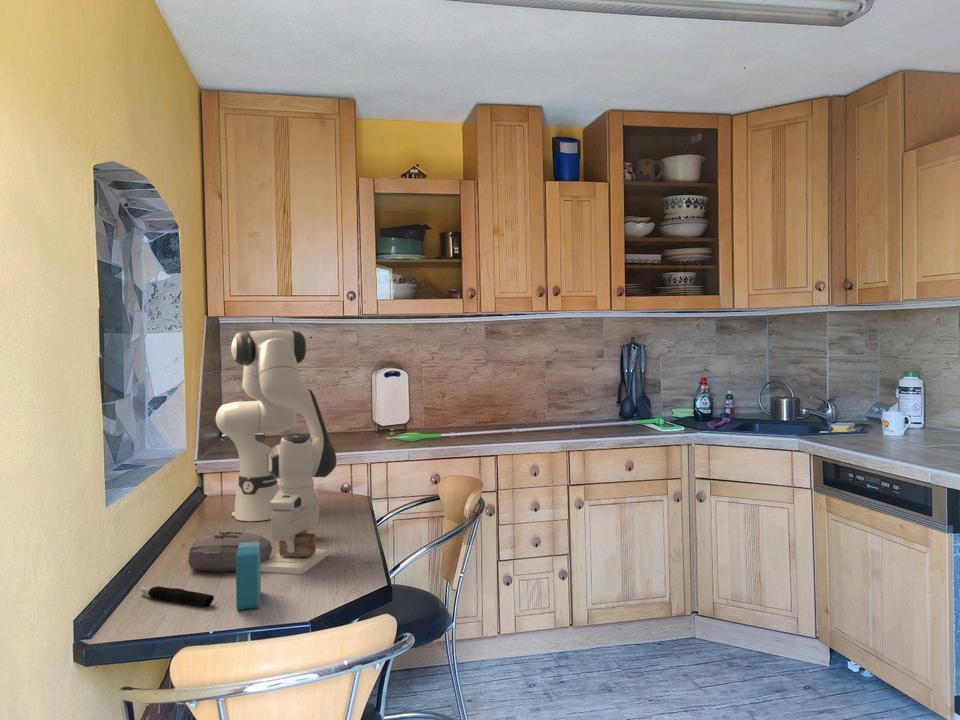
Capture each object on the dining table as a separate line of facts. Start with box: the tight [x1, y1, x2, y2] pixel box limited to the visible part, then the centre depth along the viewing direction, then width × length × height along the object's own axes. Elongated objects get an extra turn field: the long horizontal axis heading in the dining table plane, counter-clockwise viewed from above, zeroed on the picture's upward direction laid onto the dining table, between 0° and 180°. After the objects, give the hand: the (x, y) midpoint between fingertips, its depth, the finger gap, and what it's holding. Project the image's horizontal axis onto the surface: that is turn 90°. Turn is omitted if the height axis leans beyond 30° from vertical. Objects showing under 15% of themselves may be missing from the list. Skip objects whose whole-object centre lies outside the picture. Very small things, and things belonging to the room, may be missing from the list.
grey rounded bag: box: [188, 531, 273, 573], centre depth 176 cm, size 15×8×20 cm
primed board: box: [260, 548, 330, 575], centre depth 177 cm, size 16×12×2 cm
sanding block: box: [278, 532, 317, 557], centre depth 178 cm, size 4×8×5 cm, turn 78°
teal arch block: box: [235, 542, 262, 611], centre depth 150 cm, size 12×4×12 cm, turn 16°
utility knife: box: [140, 585, 215, 608], centre depth 151 cm, size 22×4×3 cm, turn 69°
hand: (297, 548), depth 178 cm, fingers closed on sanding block, 4 cm apart
